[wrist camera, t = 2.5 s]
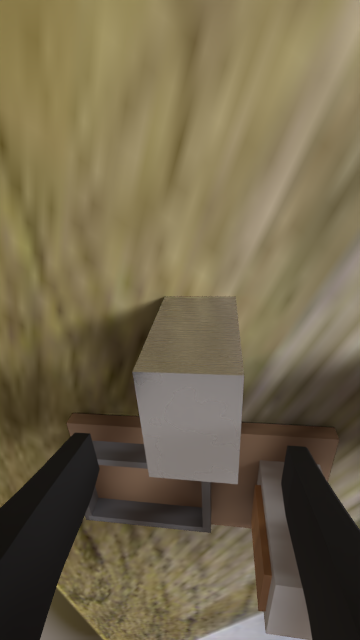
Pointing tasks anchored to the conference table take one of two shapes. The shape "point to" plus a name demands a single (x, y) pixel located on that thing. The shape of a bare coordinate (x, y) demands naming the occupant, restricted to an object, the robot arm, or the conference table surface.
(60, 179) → the conference table surface
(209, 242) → the conference table surface
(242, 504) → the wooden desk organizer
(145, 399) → the grey rectangular block
